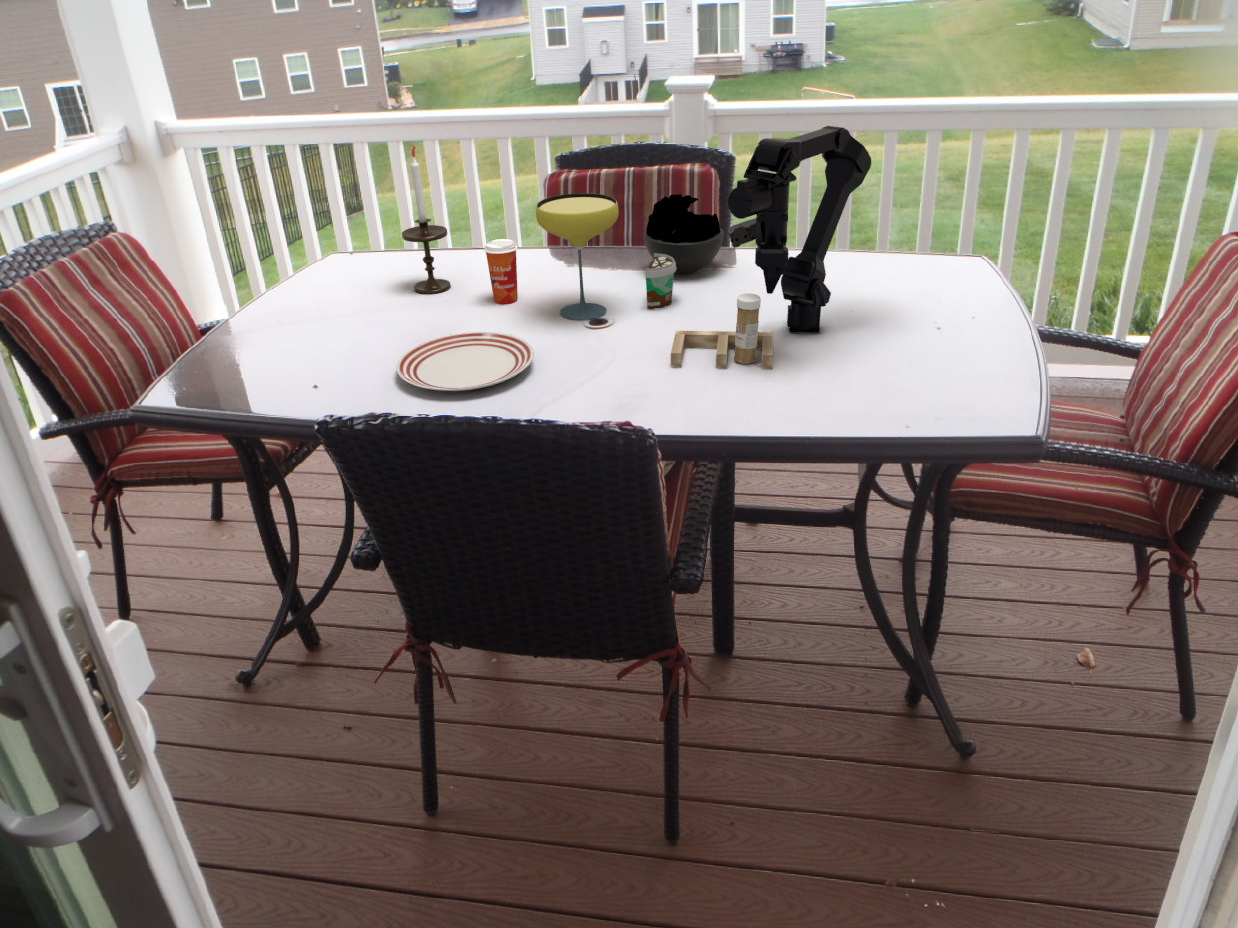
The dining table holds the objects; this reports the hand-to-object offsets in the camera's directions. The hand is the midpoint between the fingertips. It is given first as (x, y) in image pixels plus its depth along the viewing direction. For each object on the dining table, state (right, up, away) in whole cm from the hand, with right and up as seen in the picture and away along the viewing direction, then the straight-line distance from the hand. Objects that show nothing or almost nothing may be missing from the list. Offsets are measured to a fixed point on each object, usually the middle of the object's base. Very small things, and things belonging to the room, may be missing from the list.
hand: (769, 285), depth 186 cm
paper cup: (-57, +3, +37) cm, 68 cm away
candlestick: (-77, +8, +46) cm, 90 cm away
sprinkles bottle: (-5, -15, 0) cm, 16 cm away
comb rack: (-9, -14, +3) cm, 17 cm away
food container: (-20, +2, +31) cm, 37 cm away
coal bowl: (-14, +13, +51) cm, 54 cm away
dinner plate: (-61, -17, +1) cm, 64 cm away
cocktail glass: (-39, -1, +28) cm, 48 cm away
